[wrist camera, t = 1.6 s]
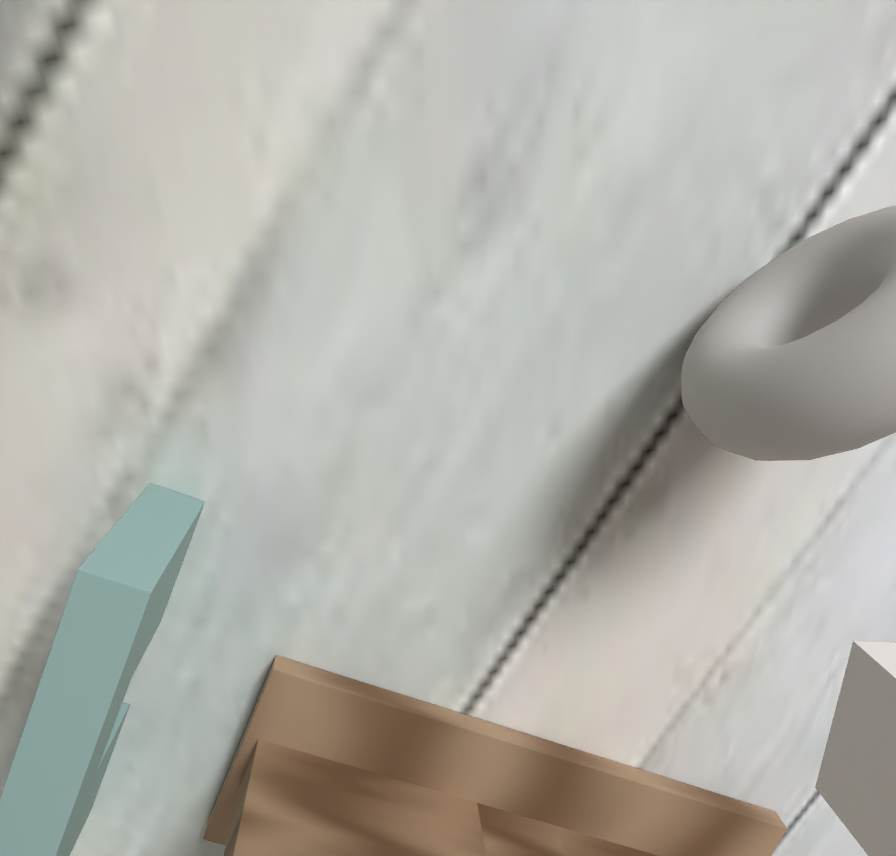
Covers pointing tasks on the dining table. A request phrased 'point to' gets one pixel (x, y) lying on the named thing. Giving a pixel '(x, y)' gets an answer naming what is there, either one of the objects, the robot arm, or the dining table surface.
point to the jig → (448, 786)
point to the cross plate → (93, 674)
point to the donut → (803, 349)
